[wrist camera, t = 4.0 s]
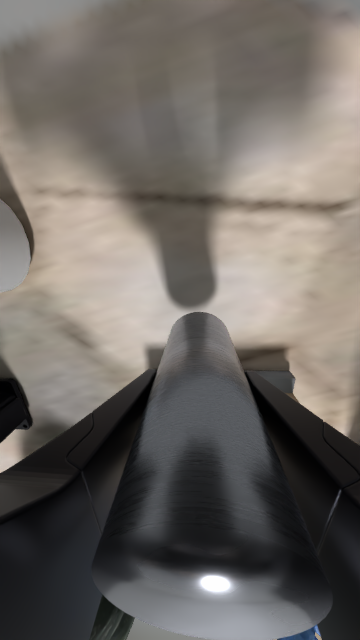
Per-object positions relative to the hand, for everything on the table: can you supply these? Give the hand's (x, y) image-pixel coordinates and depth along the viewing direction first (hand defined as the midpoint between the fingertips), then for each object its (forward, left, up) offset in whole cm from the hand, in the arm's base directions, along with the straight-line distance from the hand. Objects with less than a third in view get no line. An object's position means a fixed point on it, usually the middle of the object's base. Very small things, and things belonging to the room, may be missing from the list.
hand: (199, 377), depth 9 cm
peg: (0, 0, -4) cm, 4 cm away
